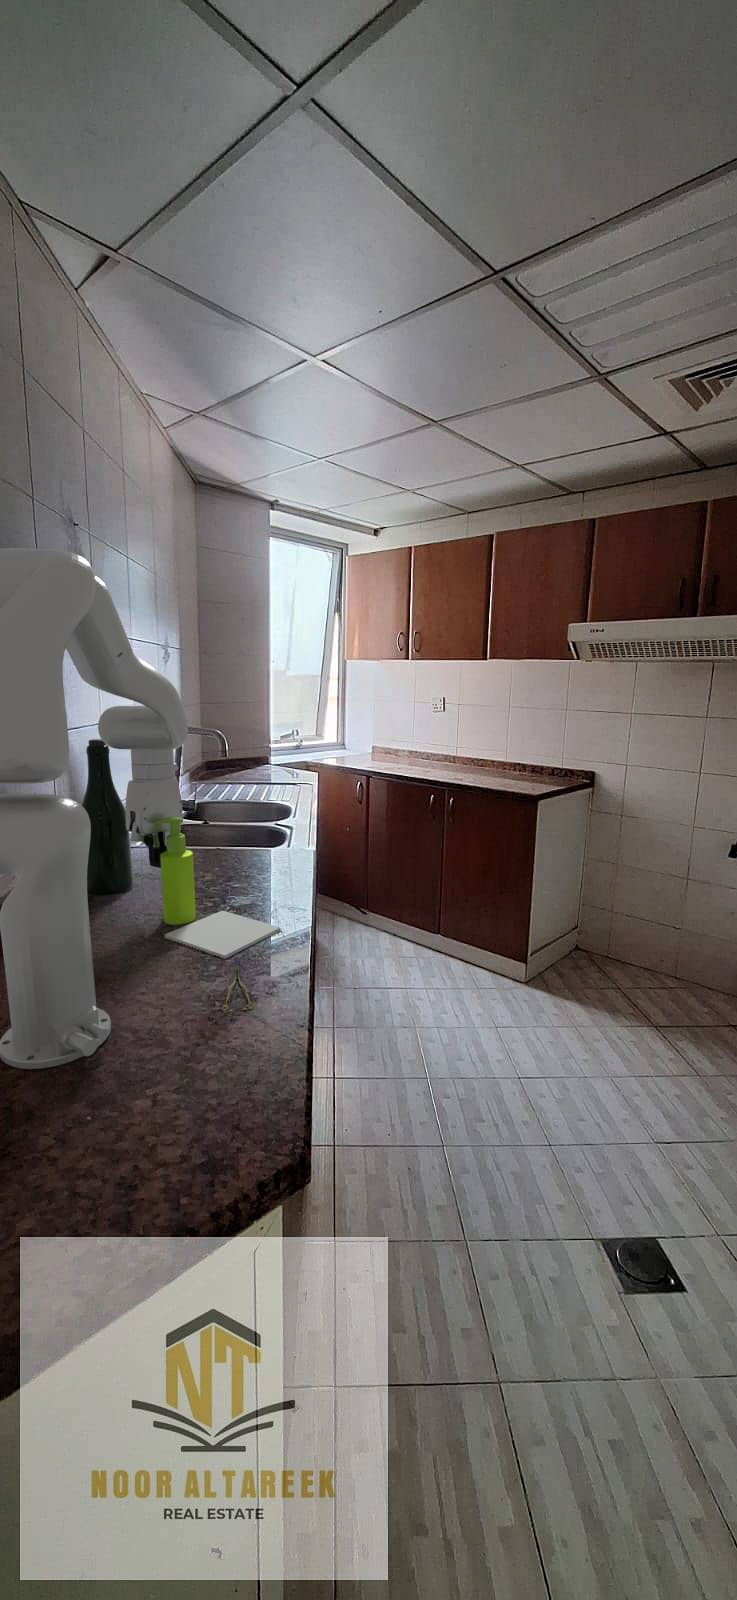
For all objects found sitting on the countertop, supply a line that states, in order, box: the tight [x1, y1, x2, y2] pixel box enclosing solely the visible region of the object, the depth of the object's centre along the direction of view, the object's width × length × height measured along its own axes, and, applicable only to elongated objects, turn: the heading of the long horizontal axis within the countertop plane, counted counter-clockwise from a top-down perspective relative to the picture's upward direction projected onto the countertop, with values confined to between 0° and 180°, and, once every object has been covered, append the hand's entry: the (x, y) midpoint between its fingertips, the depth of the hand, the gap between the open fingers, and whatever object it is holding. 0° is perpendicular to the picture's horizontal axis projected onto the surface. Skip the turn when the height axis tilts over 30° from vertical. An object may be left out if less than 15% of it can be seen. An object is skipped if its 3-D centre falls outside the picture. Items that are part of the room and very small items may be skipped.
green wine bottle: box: [80, 738, 134, 897], centre depth 127 cm, size 10×10×33 cm
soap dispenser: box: [152, 817, 197, 926], centre depth 113 cm, size 6×7×20 cm
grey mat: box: [164, 910, 281, 960], centre depth 108 cm, size 15×14×1 cm
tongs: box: [222, 968, 254, 1013], centre depth 88 cm, size 4×13×2 cm, turn 18°
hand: (158, 865), depth 115 cm, fingers closed
